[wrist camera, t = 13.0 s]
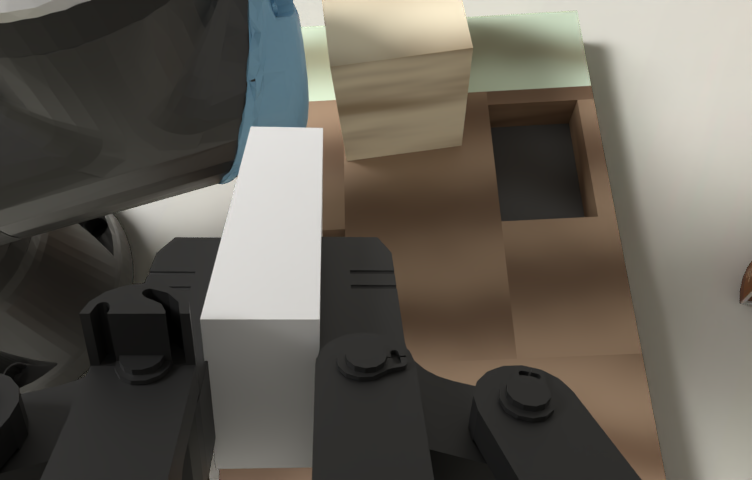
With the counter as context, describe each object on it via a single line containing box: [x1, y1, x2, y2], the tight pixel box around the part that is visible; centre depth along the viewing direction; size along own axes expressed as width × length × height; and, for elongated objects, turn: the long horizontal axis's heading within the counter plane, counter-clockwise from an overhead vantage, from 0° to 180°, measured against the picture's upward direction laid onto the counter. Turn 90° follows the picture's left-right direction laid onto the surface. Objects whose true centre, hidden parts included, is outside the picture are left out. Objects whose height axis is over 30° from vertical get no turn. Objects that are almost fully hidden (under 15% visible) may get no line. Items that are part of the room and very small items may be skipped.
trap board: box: [219, 11, 666, 480], centre depth 40 cm, size 32×22×3 cm
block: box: [322, 0, 473, 161], centre depth 39 cm, size 10×7×9 cm
